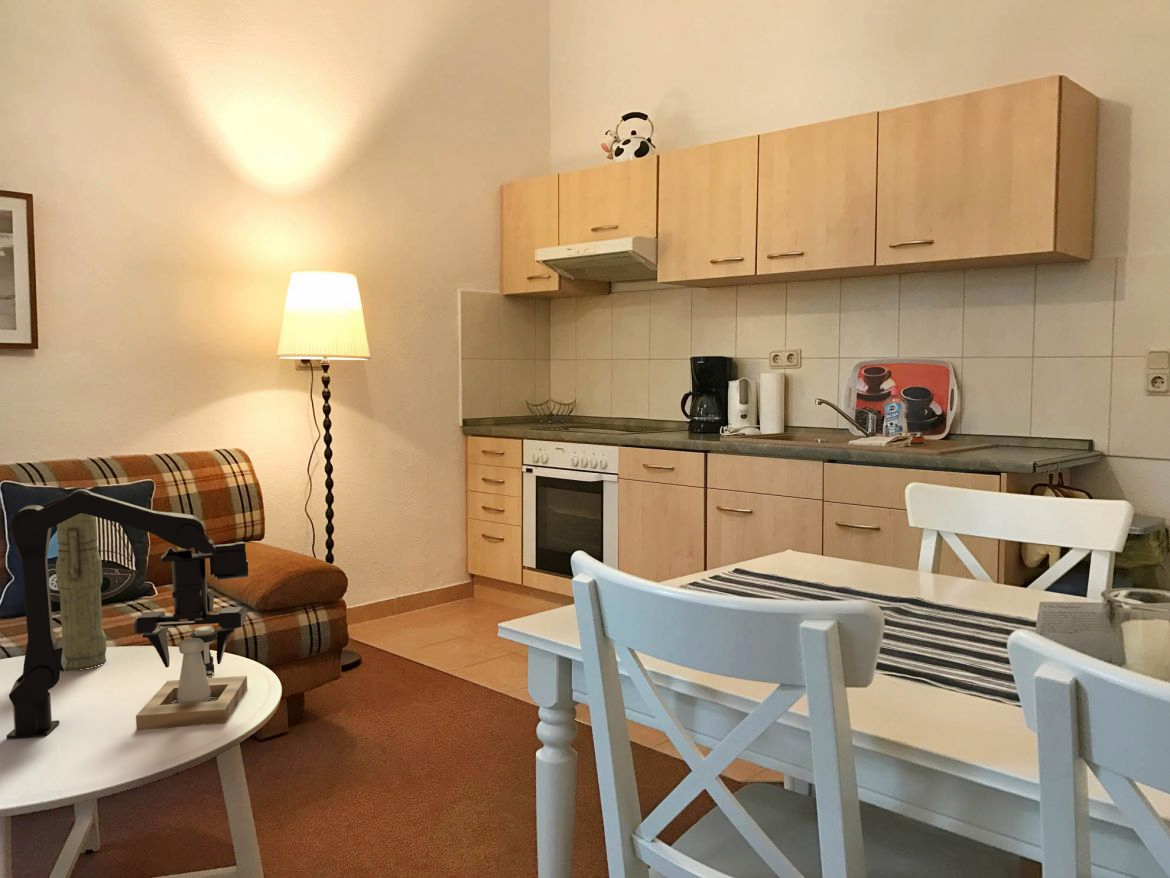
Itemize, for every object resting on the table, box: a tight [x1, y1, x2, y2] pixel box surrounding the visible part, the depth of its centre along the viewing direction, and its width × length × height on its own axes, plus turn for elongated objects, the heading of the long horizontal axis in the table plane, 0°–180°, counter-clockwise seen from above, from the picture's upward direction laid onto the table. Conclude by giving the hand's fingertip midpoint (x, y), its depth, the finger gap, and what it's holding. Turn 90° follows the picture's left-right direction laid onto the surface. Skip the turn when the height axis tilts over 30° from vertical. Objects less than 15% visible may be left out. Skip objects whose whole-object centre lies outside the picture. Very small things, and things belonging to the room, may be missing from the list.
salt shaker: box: [177, 637, 211, 704], centre depth 177 cm, size 6×6×13 cm
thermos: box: [55, 513, 107, 671], centre depth 206 cm, size 9×12×35 cm
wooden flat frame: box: [135, 675, 248, 731], centre depth 177 cm, size 20×15×2 cm
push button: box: [189, 625, 218, 678], centre depth 196 cm, size 7×5×10 cm
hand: (193, 665), depth 177 cm, fingers open, 9 cm apart
